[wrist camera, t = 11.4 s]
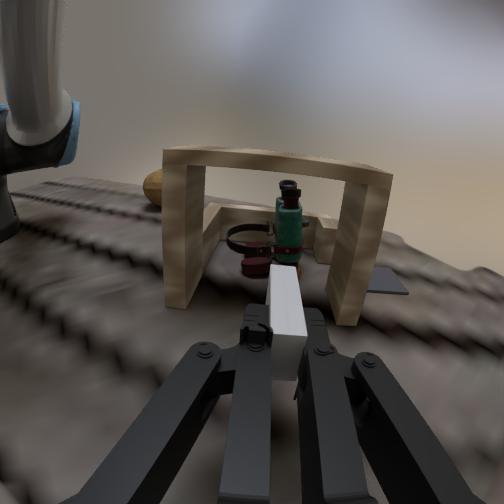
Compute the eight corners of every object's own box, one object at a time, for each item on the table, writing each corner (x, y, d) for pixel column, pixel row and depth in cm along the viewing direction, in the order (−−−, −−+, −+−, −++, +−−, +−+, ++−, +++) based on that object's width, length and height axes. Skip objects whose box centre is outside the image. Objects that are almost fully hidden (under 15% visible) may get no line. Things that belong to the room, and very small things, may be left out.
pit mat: (350, 290, 32) (350, 288, 32) (338, 264, 39) (338, 262, 39) (408, 294, 32) (408, 292, 32) (389, 270, 39) (390, 268, 38)
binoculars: (228, 178, 37) (305, 178, 37) (231, 254, 41) (302, 254, 41) (217, 191, 29) (317, 191, 28) (222, 285, 33) (311, 285, 32)
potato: (129, 210, 55) (129, 171, 52) (168, 196, 67) (169, 163, 64) (168, 217, 52) (169, 174, 49) (203, 202, 65) (205, 166, 62)
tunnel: (165, 306, 26) (162, 149, 21) (209, 233, 46) (214, 142, 40) (356, 325, 26) (393, 174, 20) (323, 245, 45) (337, 155, 40)
